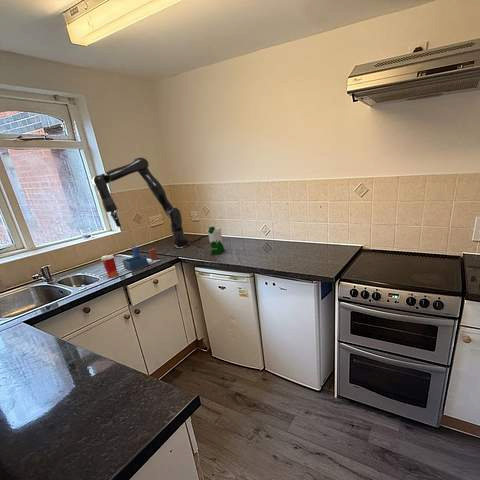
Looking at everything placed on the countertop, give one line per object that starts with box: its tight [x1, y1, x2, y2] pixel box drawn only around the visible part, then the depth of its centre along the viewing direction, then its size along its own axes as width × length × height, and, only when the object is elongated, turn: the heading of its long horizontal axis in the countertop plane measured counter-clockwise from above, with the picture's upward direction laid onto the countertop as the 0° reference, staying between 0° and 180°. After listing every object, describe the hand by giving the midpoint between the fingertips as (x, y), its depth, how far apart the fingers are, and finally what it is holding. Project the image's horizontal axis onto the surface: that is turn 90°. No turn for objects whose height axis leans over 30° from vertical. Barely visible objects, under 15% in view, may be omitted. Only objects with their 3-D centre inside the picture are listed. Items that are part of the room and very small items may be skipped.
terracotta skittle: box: [149, 248, 158, 261], centre depth 224 cm, size 4×4×8 cm
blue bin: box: [122, 255, 149, 271], centre depth 213 cm, size 12×12×6 cm
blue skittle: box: [131, 246, 141, 257], centre depth 236 cm, size 4×4×8 cm
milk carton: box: [206, 226, 226, 255], centre depth 220 cm, size 9×9×20 cm
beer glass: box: [100, 254, 119, 278], centre depth 197 cm, size 8×8×14 cm
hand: (119, 226), depth 218 cm, fingers open, 8 cm apart
